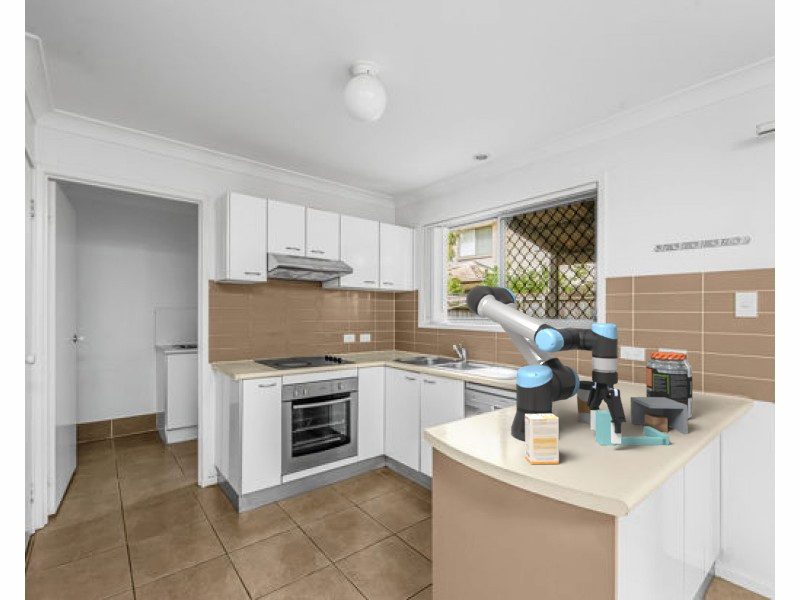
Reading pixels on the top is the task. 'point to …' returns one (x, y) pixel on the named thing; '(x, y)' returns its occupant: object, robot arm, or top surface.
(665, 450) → the top surface
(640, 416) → the block
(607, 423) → the teal cube-topped l-bracket
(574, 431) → the top surface
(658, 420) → the block
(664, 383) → the supplement tub
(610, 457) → the top surface
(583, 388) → the coffee cup
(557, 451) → the supplement box
